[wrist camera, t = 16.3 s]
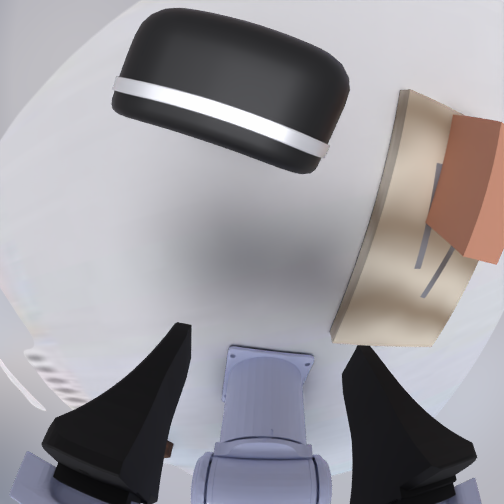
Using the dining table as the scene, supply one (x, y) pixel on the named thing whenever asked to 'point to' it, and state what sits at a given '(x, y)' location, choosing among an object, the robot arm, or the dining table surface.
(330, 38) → the dining table surface
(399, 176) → the board
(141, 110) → the battery charger
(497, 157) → the block
